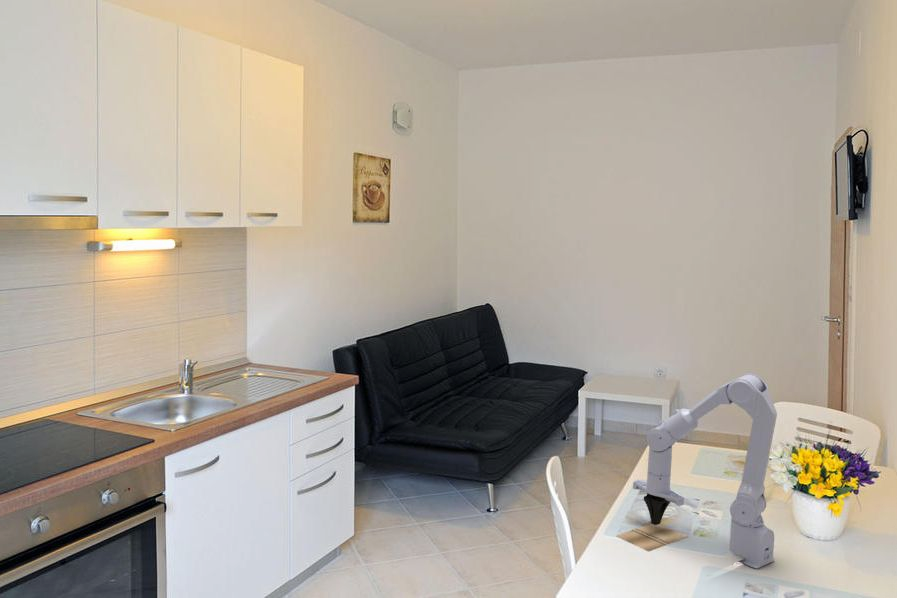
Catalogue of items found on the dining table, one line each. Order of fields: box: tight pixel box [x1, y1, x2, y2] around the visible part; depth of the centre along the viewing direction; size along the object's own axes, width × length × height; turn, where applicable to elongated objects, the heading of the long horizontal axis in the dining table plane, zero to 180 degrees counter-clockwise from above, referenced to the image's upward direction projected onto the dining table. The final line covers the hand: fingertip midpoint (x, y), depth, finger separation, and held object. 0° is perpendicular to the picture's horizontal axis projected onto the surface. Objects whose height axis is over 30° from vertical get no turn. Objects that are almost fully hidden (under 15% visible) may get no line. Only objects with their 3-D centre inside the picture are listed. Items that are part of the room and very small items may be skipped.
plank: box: [633, 523, 689, 545], centre depth 191 cm, size 10×8×2 cm
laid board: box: [615, 529, 668, 552], centre depth 186 cm, size 10×7×2 cm
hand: (655, 523), depth 194 cm, fingers closed
